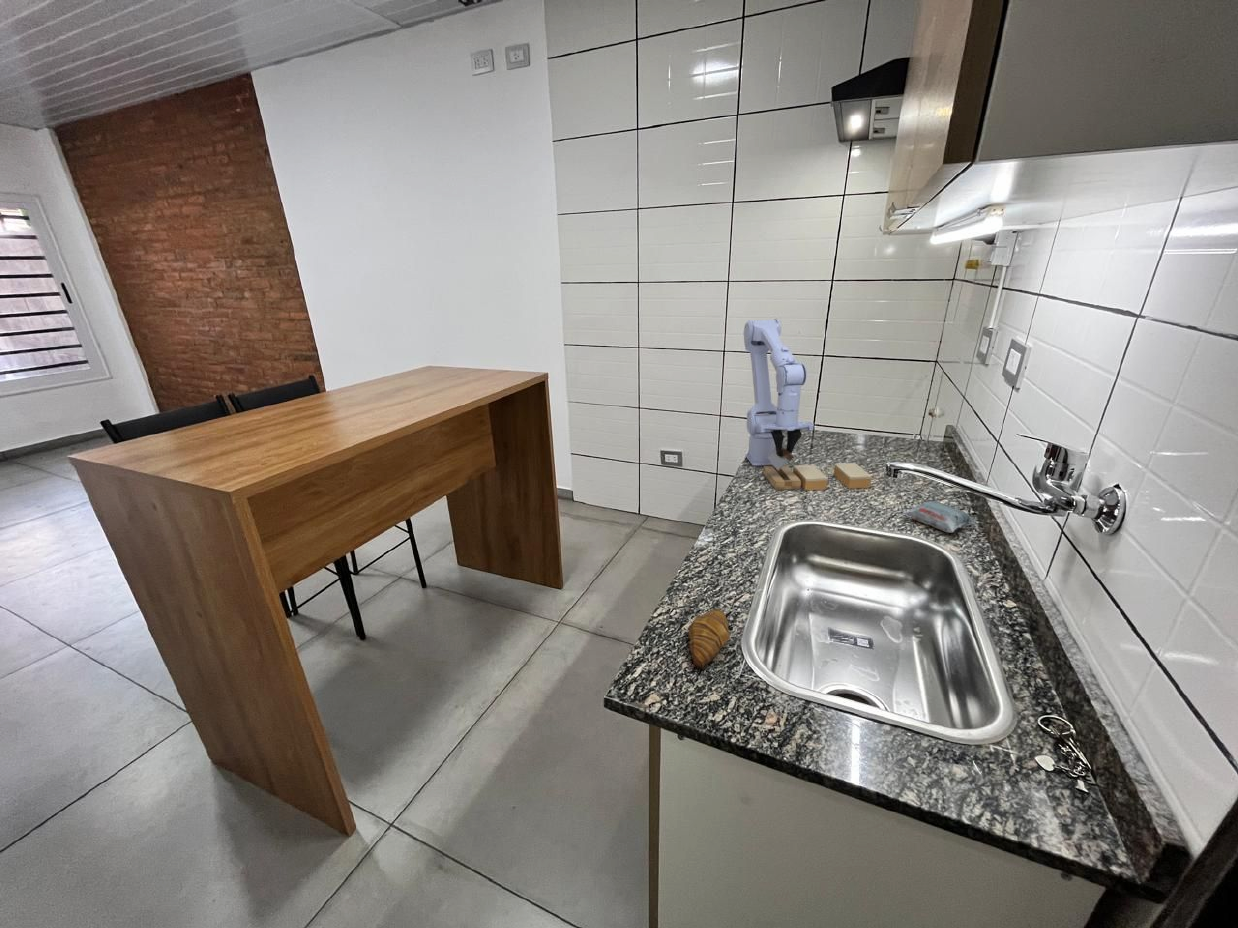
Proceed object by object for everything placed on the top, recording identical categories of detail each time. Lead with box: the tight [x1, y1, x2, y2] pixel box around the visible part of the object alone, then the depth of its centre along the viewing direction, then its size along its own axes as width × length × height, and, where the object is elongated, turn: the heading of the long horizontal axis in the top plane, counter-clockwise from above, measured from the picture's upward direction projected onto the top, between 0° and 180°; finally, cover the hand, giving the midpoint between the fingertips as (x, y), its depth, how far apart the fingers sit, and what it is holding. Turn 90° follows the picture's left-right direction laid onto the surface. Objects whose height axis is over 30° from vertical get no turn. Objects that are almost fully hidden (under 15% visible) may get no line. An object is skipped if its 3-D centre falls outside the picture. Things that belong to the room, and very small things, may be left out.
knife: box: [768, 444, 795, 471], centre depth 137 cm, size 10×2×6 cm
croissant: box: [688, 609, 730, 670], centre depth 79 cm, size 14×7×5 cm, turn 155°
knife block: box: [762, 464, 802, 491], centre depth 140 cm, size 12×7×2 cm, turn 1°
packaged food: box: [902, 500, 976, 534], centre depth 112 cm, size 9×12×5 cm
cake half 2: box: [832, 462, 873, 490], centre depth 137 cm, size 10×6×4 cm, turn 0°
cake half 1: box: [792, 464, 829, 491], centre depth 138 cm, size 10×6×4 cm, turn 1°
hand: (783, 455), depth 137 cm, fingers closed on knife, 2 cm apart
